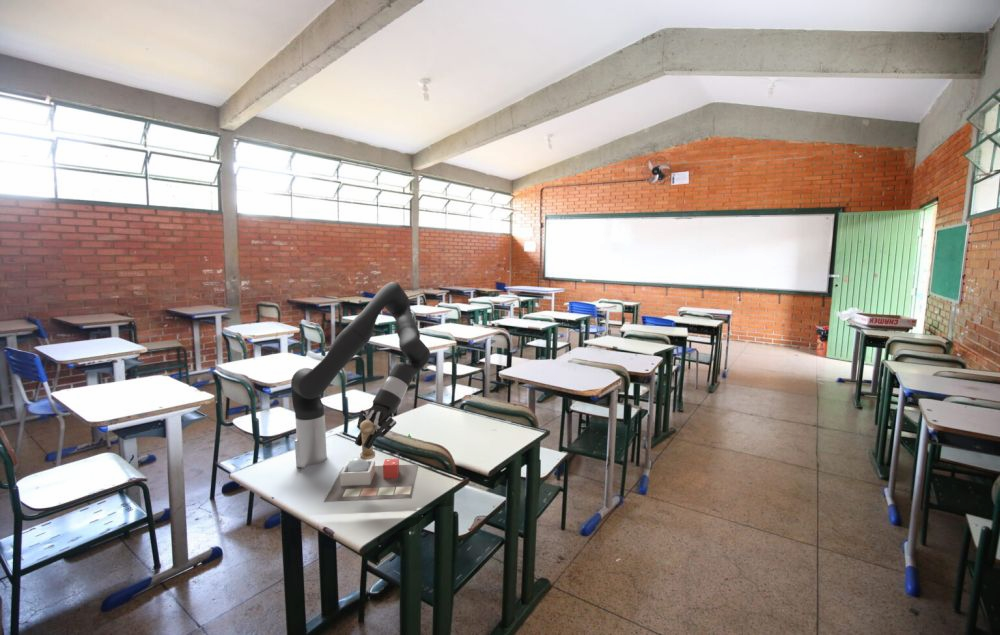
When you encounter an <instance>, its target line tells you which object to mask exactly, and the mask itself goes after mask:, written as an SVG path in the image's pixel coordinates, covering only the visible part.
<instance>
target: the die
mask: <svg viewBox="0 0 1000 635" xmlns="http://www.w3.org/2000/svg"><path fill="white" fill-rule="evenodd" d="M399 465H400V458H385V459H384V461H383V464H382V466H383V479H384V478H398V474H399Z"/></svg>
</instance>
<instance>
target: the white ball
mask: <svg viewBox="0 0 1000 635" xmlns="http://www.w3.org/2000/svg"><path fill="white" fill-rule="evenodd" d="M349 461H350V463H349V465H348V472H363V471H368V469H369V464H368V462H367V460H363V459H361V458H360V456H357V457H353V459H351V460H349Z"/></svg>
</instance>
